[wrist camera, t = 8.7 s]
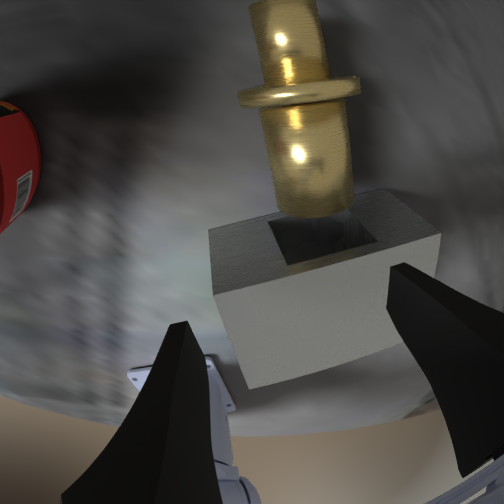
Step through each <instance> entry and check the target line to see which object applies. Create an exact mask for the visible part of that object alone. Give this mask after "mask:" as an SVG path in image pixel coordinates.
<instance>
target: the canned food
mask: <svg viewBox="0 0 504 504" xmlns="http://www.w3.org/2000/svg"><path fill="white" fill-rule="evenodd" d="M40 171H41V151H40V144H39V140H38V136H37V133H36V131H35V129H34V126H33V124H32V122H31V121H30V119H29V118H28V117H27V115H26V114H25V113H24V112H23V111H22V110H21V109H19V108H18V107H16V106H14V105H12V104H10V103H7V102H3V101H0V234H1V233H2V232H3V231H4V230H5V229H6V228H7V227H8V226H9V225H10V224H11V223H12V222H13V221H14V220H15V219H16V218H17V217H18V216H19V215H20V214H21V213H22V212H23V211H24V210H25V209H26V207H27V206H28V205H29V203H30V201H31V199H32V197H33V195H34V193H35V191H36V188H37V185H38V182H39V178H40Z"/></svg>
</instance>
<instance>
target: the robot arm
mask: <svg viewBox="0 0 504 504" xmlns="http://www.w3.org/2000/svg"><path fill="white" fill-rule="evenodd" d="M386 309H387V311H388V314H389V316H390V318H391V320H392V322H393V324H394V326H395V328H396V330H397V332H398V333H399V335H400V336H401V338H402V339H403V341H404V342H405V344H406V346H407V347H408V349H409V350H410V352H411V353H412V355H413V356H414V358H415V360H416V361H417V363H418V364H419V366H420V367H421V369H422V371H423V372H424V374H425V376H426V377H427V379H428V381H429V383H430V385H431V387H432V389H433V391H434V394H435V396H436V398H437V400H438V403H439V405H440V408H441V410H442V413H443V416H444V418H445V421H446V424H447V427H448V430H449V433H450V436H451V439H452V443H453V447H454V451H455V455H456V459H457V464H458V469H459V472H460V474H461V476H462V477H463V478H464V477H466V476H467V475H469V474H470V473H472V472H473V471H475V470H477V469H478V468H480V467H481V466H483V465H484V464H485V463H487V462H488V461H490V460H491V459H494V462H492V463H491V464H490V465H488V466H487V467H485V468H484V469H482V470H481V471H479V472H478V473H476V474H475V475H474V476H472V477H470V478H469V479H467V480H466V481H464V482H462V483H461V484H459V485H458V486H456V487H454V488H452V489H451V490H449V491H447V492H445V493H444V494H442V495H440V496H438V497H436V498H435V499H433V500H431V501H429V502H427V503H425V504H460V503H461V502H463V501H465V500H466V499H468V498H469V497H471V496H472V495H474V494H475V493H477V492H478V491H480V490H481V489H483V488H484V487H486V486H487V485H488V486H487V488H486V492H485V493H484V494H482V495H481V496H479V497H477V498H476V499H474V500H472V501H470V502H469V503H467V504H504V313H502V312H500V311H497V310H495V309H493V308H490V307H488V306H486V305H484V304H481V303H479V302H477V301H475V300H473V299H471V298H469V297H467V296H465V295H463V294H462V293H460V292H458V291H456V290H454V289H452V288H450V287H449V286H447V285H445V284H443V283H442V282H440V281H438V280H436V279H434V278H433V277H431V276H429V275H427V274H426V273H424V272H422V271H420V270H419V269H417V268H415V267H413V266H411V265H409V264H407V263H405V262H403V263H400V264H397V265H394V266H390V275H389V286H388V295H387V304H386ZM127 376H128V378H129V379H130V380H131V381H132V383H133V384H134V385H135V386H136V387H137V389H138V390H139V391H140V393H139V395H138V396H137V398H136V400H135V402H134V404H133V406H132V408H131V409H130V411H129V413H128V414H127V416H126V418H125V419H124V421H123V423H122V424H121V426H120V427H119V429H118V430H117V432H116V433H115V435H114V436H113V437H112V439H111V440H110V442H109V443H108V444H107V446H106V447H105V448H104V450H103V451H102V452H101V453H100V455H99V456H98V457H97V458H96V459H95V461H94V462H93V463H92V464H91V466H90V467H89V468H88V469H87V470H86V471H85V472H84V473H83V474H82V475H81V476H80V477H79V478H78V479H77V480H76V481H75V482H74V483H73V484H72V485H71V486H70V487H69V488H68V489H67V490H66V491H65V492H64V493H62V494H61V501H60V504H261V500H260V496H259V494H258V492H257V490H256V488H255V487H254V486H253V485H252V484H251V482H250V481H249V480H248V479H247V478H245V477H242V476H241V477H239V472H238V467H235V466H232V464H233V451H232V445H231V437H230V430H229V422H228V415H227V413H228V412H233V411H235V410H236V406H235V404H234V402H233V400H232V398H231V396H230V394H229V392H228V390H227V388H226V386H225V384H224V382H223V380H222V378H221V376H220V374H219V372H218V370H217V368H216V366H215V364H214V362H213V360H212V358H210V357H205V356H204V354H203V352H202V350H201V348H200V346H199V344H198V342H197V340H196V338H195V336H194V334H193V332H192V329H191V327H190V325H189V323H188V321H184V322H179V323H174V324H170V326H169V327H168V330H167V332H166V335H165V337H164V340H163V342H162V345H161V347H160V349H159V352H158V354H157V356H156V359H155V361H154V363H153V365H152V367H147V368H140V369H134V370H129V371H128V373H127Z"/></svg>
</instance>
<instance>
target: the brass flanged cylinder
mask: <svg viewBox="0 0 504 504" xmlns="http://www.w3.org/2000/svg"><path fill="white" fill-rule="evenodd" d="M248 9H249V13H250V18H251V22H252V26H253V31H254V35H255V39H256V44H257V49H258V53H259V58H260V62H261V67H262V72H263V77H264V82H265V85H260V86H255V87H251V88H247V89H243V90H240V91H238V92H237V94H238V98H239V103H240V107H242V108H257V107H262V108H260V109H259V112H260V117H261V122H262V127H263V132H264V137H265V143H266V148H267V153H268V158H269V163H270V169H271V174H272V179H273V185H274V190H275V196H276V202H277V207H278V209H279V210H280V211H281V212H283V213H284V214H287V215H289V216H293V217H299V218H319V217H326V216H330V215H334V214H337V213H340V212H342V211H344V210H346V209H347V208H349V207H350V206H351V205H352V203H353V202H354V187H353V172H352V160H351V148H350V138H349V129H348V120H347V112H346V104H345V99H343V97H349V96H354V95H358V94H360V93H361V85H360V78H359V77H356V76H332V77H331V76H330V70H329V65H328V59H327V54H326V48H325V43H324V38H323V33H322V28H321V23H320V19H319V14H318V10H317V5H316V1H315V0H261V1H258V2H255V3H253V4H251V5H250V6H249V7H248Z"/></svg>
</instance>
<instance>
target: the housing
mask: <svg viewBox="0 0 504 504" xmlns="http://www.w3.org/2000/svg"><path fill="white" fill-rule="evenodd" d="M208 234H209V249H210V263H211V276H212V289H213V297H214V299H215V302H216V305H217V308H218V310H219V313H220V316H221V318H222V321H223V324H224V327H225V329H226V332H227V334H228V337H229V340H230V342H231V345H232V348H233V350H234V353H235V355H236V358H237V360H238V363H239V366H240V368H241V371H242V373H243V376H244V378H245V381H246V383H247V386H248V388H249V389H253V388H258V387H262V386H266V385H270V384H274V383H278V382H282V381H286V380H290V379H293V378H297V377H301V376H304V375H308V374H311V373H315V372H318V371H321V370H325V369H328V368H331V367H334V366H337V365H340V364H344V363H347V362H350V361H353V360H355V359H358V358H361V357H364V356H367V355H370V354H373V353H375V352H378V351H381V350H383V349H386V348H389V347H391V346H394V345H396V344H399V343H402V342H404V341H403V339H402V338H401V336H400V335H399V333H398V332H397V330H396V328H395V326H394V324H393V322H392V320H391V318H390V316H389V314H388V311H387V309H386V304H387V295H388V286H389V275H390V266H394V265H397V264H400V263H403V262H405V263H407V264H409V265H411V266H413V267H415V268H417V269H419V270H420V271H422V272H424V273H426V274H427V275H429V276H431V277H433V278H434V276H435V271H436V266H437V260H438V254H439V247H440V240H441V232H440V231H439V230H437V229H436V228H435V227H434V226H433V225H431V224H430V223H429V222H428V221H426V220H425V219H424V218H423V217H421V216H420V215H419V214H418V213H416V212H415V211H414V210H412V209H411V208H410V207H408V206H407V205H406V204H404V203H403V202H402V201H400V200H399V199H398V198H396V197H395V196H394V195H392V194H391V193H390V192H388V191H387V190H385V189H380V190H376V191H371V192H366V193H362V194H357V195H354V202H353V203H352V205H351V206H350V207H349V208H347V209H346V210H344V211H342V212H340V213H337V214H334V215H330V216H326V217H319V218H299V217H293V216H289V215H287V214H284V213H283V212H279V213H274V214H270V215H266V216H262V217H258V218H254V219H250V220H246V221H242V222H238V223H234V224H230V225H226V226H222V227H218V228H214V229H210V230H208Z"/></svg>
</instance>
